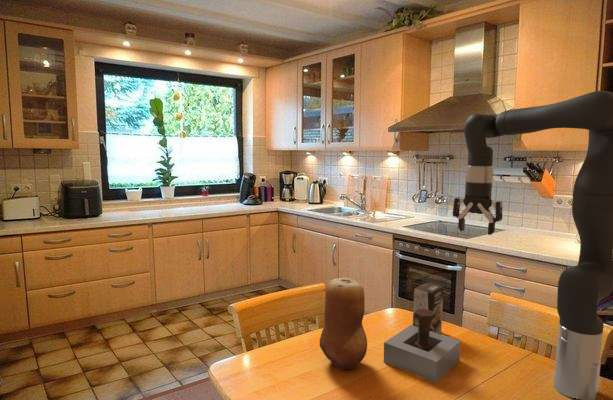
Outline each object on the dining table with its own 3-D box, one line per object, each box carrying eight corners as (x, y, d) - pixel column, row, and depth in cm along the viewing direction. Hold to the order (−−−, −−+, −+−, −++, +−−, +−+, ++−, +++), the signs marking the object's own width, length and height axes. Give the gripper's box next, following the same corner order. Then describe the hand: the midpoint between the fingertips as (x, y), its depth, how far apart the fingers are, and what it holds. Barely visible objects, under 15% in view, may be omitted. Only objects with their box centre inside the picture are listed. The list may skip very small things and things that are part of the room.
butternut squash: (375, 363, 119) (378, 279, 116) (350, 383, 109) (352, 292, 106) (336, 347, 128) (337, 270, 125) (309, 365, 118) (310, 281, 115)
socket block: (459, 360, 121) (460, 340, 121) (435, 383, 110) (436, 361, 109) (409, 342, 132) (410, 324, 131) (383, 361, 120) (384, 342, 119)
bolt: (431, 357, 123) (433, 309, 121) (434, 366, 118) (436, 316, 116) (411, 355, 124) (413, 308, 122) (413, 364, 119) (415, 315, 117)
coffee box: (429, 340, 133) (431, 292, 131) (411, 334, 138) (413, 288, 135) (442, 331, 140) (444, 285, 138) (424, 326, 144) (426, 281, 142)
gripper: (507, 181, 124) (503, 234, 127) (460, 178, 134) (457, 227, 136) (499, 183, 119) (496, 238, 121) (451, 180, 128) (448, 231, 130)
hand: (475, 232), depth 128 cm, fingers open, 8 cm apart
